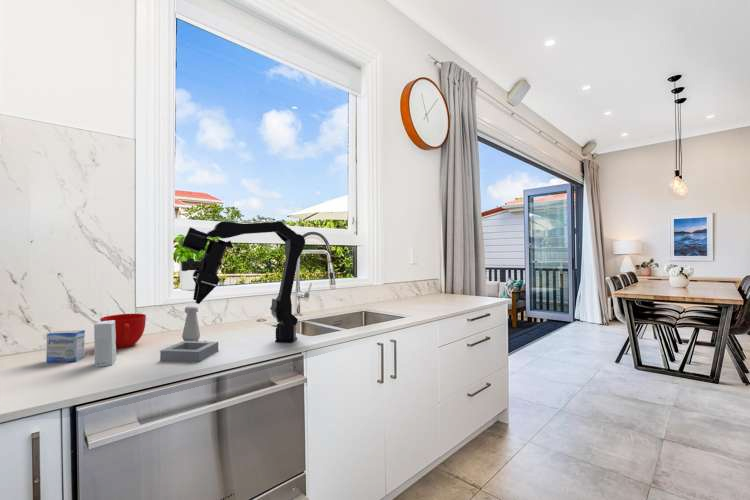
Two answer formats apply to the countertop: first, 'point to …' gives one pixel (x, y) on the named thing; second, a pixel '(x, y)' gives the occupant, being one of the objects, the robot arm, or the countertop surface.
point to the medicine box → (65, 346)
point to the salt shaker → (191, 325)
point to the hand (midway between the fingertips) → (196, 301)
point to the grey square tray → (189, 351)
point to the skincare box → (105, 343)
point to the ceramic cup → (127, 328)
